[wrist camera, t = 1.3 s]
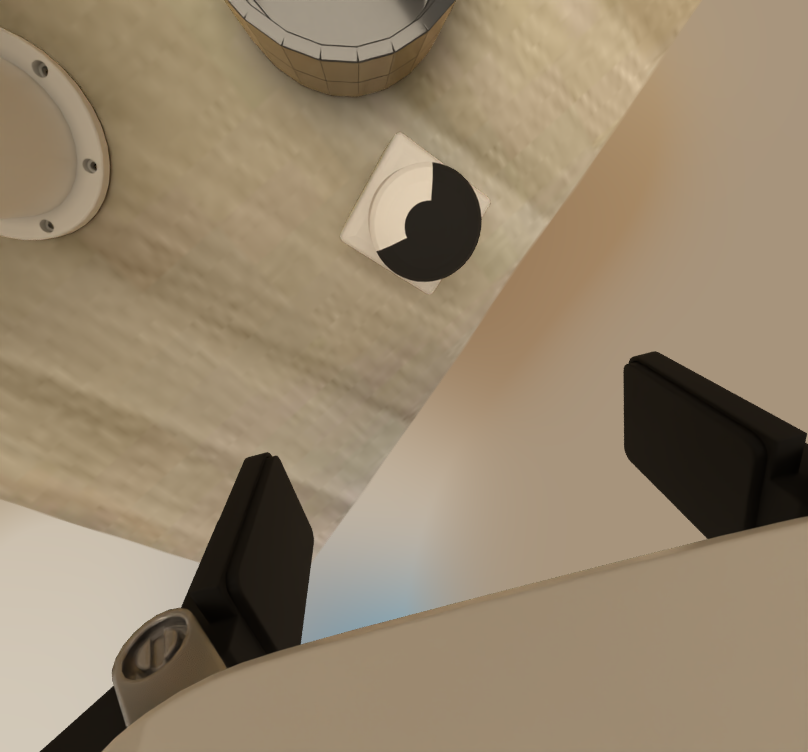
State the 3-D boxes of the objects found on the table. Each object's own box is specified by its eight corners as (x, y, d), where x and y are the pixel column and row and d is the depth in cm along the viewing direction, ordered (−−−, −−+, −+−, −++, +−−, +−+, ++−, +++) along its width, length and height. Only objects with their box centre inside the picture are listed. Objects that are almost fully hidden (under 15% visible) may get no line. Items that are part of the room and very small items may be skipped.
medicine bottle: (466, 198, 32) (523, 203, 21) (417, 277, 34) (445, 317, 23) (389, 141, 30) (407, 114, 19) (341, 229, 32) (333, 250, 21)
